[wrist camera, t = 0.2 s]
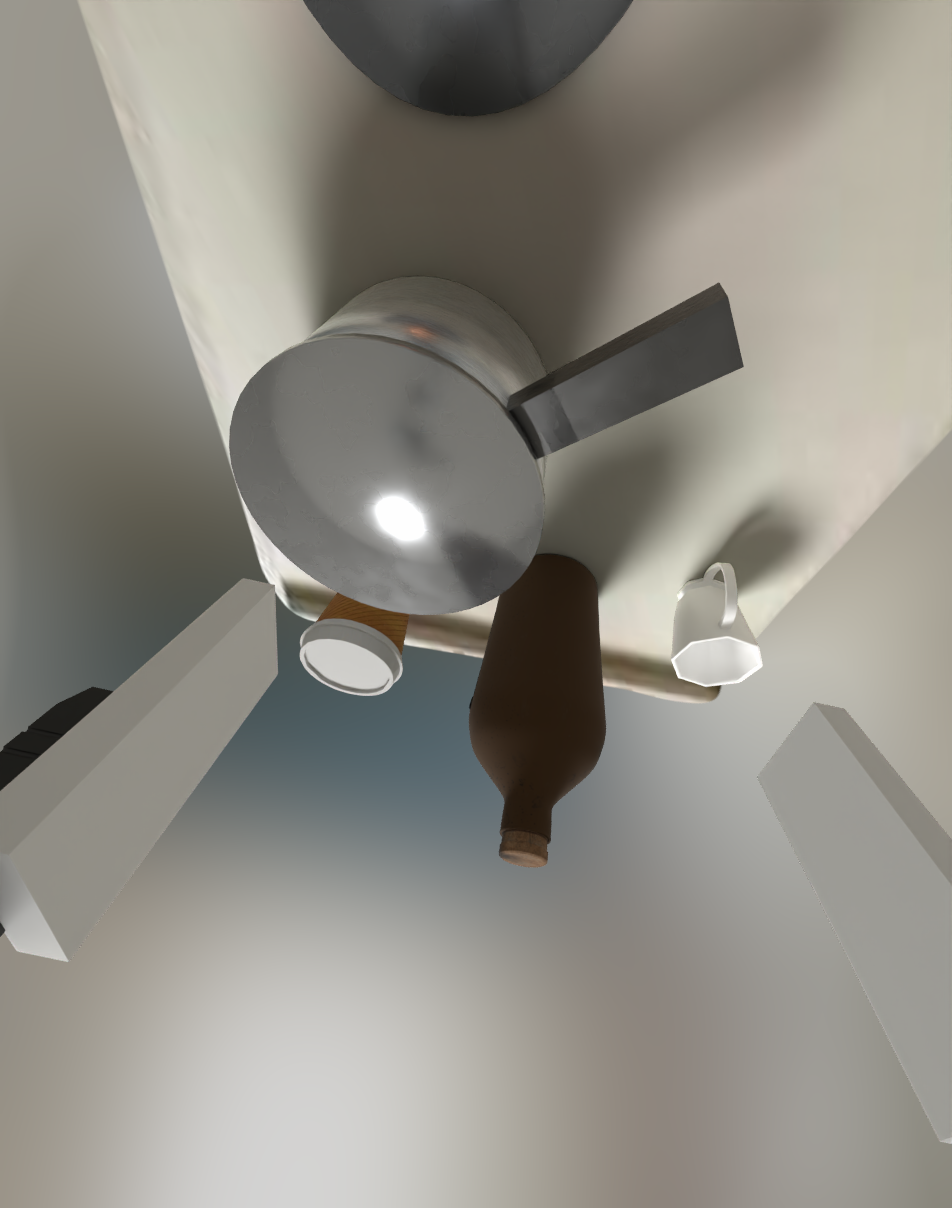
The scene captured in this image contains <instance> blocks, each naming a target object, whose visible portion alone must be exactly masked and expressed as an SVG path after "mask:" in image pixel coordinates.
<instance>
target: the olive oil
mask: <svg viewBox="0 0 952 1208" xmlns="http://www.w3.org/2000/svg"><path fill="white" fill-rule="evenodd" d="M469 708H470V714H469V730H470V738H471V744H472V747H473V750H474V753H475V755H476V757H477V759H478V760H479V762H480V764H481V765H482V767H483V768H484V769H485V771H486V772H487V774H488V775H489V776H490V778H491V779H492V781H493V782H494V783H495V785H496V786H497V788H498V789H499V791H500V792H501V794H502V795H503V798H504V801H505V804H504V810H503V815H502V822H501V829H500V835H501V836H502V843H501V844H500V849H499V856H500V857H501V858H502V859H503V860H505V861H507V862H509V863H511V864H515V865H518V866H524V867H541V866H544V865H546V864H547V860H548V852H547V844H549V843H550V841H551V813H552V808H553V806H554V805H555V804H556V803H557V802H558V801H559V800H560V799H561V798H562V797H563V796H564V795H566V794H567V793H568V792H569V791H570V790H571V789H573V788H574V787H575V786H576V785H577V784H579V783H580V782H581V781H582V780H583V779H584V778H586V776H587V775H589V774H590V772H591V771H592V770H593V769H594V767H595V765H596V764H597V761H598V759H599V757H600V754H601V751H602V748H603V745H604V741H605V735H606V720H605V706H604V693H603V680H602V665H601V650H600V634H599V611H598V589H597V584H596V581H595V578H594V576H593V575H592V573H591V572H590V571H589V570H588V569H587V568H586V567H585V566H583V565H582V564H580V563H579V562H577V561H575V560H573V559H570V558H568V557H564V556H560V555H552V554H543V555H535V556H534V557H533V559H532V561H531V563H530V565H529V566H528V568H527V569H526V570H525V572H524V573H523V574H522V576H521V577H520V578H519V579H518V580H517V581H516V582H515V583H514V584H513V585H512V586H511V587H510V588H509V589H507V590H506V591H505V592H503V593H502V594H500V595H499V600H498V604H497V608H496V612H495V616H494V620H493V624H492V628H491V632H490V635H489V639H488V643H487V647H486V651H485V655H484V658H483V663H482V666H481V670H480V673H479V677H478V681H477V684H476V689H475V692H474V696H473V697H472V699H471V703H470V707H469Z"/></svg>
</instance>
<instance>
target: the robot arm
mask: <svg viewBox="0 0 952 1208" xmlns="http://www.w3.org/2000/svg"><path fill="white" fill-rule="evenodd" d="M275 606H276V605H275V585H272V584H267V583H263V582H258V581H253V580H249V579H242V580H240V581H239V582H238V583H237V584H236V585H235V586H234V587H232V588H231V589H230V590H229V591H228V592H227V593H226V594H224V595H223V596H222V597H221V598H220V599H219V600H218V601H216V602H215V603H214V604H213V605H212V606H211V607H210V608H208V609H207V610H206V611H205V612H204V613H203V614H202V615H200V616H199V617H198V618H197V619H196V620H195V621H194V622H192V623H191V624H190V625H189V626H188V627H187V628H186V629H184V630H183V631H182V632H181V633H180V634H179V635H178V636H177V637H175V638H174V639H173V640H172V641H171V642H170V643H169V644H167V645H166V646H165V647H164V648H163V649H162V650H161V651H159V652H158V653H157V654H156V655H155V656H154V657H153V658H151V659H150V660H149V661H148V662H147V663H146V664H145V665H143V666H142V667H141V668H140V669H139V670H138V671H137V672H135V673H134V674H133V675H132V676H131V677H130V678H129V679H128V680H126V681H125V682H124V683H123V684H122V685H121V686H120V687H118V688H117V689H116V690H115V691H110V690H105V689H100V688H96V687H91V688H89V689H87V690H85V691H83V692H81V693H79V694H77V695H75V696H73V697H71V698H68V699H66V700H64V701H62V702H60V703H58V704H56V705H55V706H54V707H52V708H51V709H50V710H49V711H47V712H46V713H45V714H44V715H42V716H41V717H40V718H39V719H37V720H36V721H35V722H34V723H33V724H31V725H30V726H29V727H28V730H27V731H26V732H21V733H20V734H19V735H17V736H16V737H15V738H14V739H12V740H11V741H10V742H9V743H7V744H6V745H5V746H4V748H3V750H2V751H1V752H0V936H1V935H2V934H3V933H5V934H6V936H7V937H8V939H9V940H10V942H11V943H12V945H13V946H14V948H15V949H16V950H17V951H18V952H23V953H28V954H32V955H37V956H42V957H47V958H52V959H57V960H62V961H66V962H69V961H70V960H71V958H72V957H73V956H74V954H75V953H76V952H77V950H78V949H79V948H80V946H81V945H82V943H83V942H84V941H85V939H86V938H87V937H88V935H89V934H90V932H91V931H92V930H93V928H94V927H95V925H96V924H97V923H98V921H99V920H100V919H101V917H102V916H103V914H104V913H105V912H106V910H107V909H108V908H109V906H110V905H111V903H112V902H113V901H114V899H115V898H116V897H117V895H118V894H119V892H120V891H121V890H122V888H123V887H124V886H125V884H126V883H127V881H128V880H129V879H130V877H131V876H132V874H133V873H134V872H135V870H136V869H137V867H138V866H139V865H140V863H141V862H142V861H143V859H144V858H145V856H146V855H147V854H148V852H149V851H150V850H151V848H152V847H153V845H154V844H155V843H156V841H157V840H158V839H159V837H160V836H161V835H162V833H163V832H164V830H165V829H166V827H167V826H168V825H169V823H170V822H171V821H172V819H173V818H174V817H175V815H176V814H177V812H178V811H179V810H180V808H181V807H182V806H183V804H184V803H185V801H186V800H187V799H188V797H189V796H190V795H191V793H192V792H193V790H194V789H195V788H196V786H197V785H198V783H199V782H200V781H201V779H202V778H203V777H204V775H205V774H206V773H207V771H208V770H209V768H210V767H211V766H212V764H213V762H214V761H215V760H216V759H217V757H218V756H219V755H220V753H221V752H222V750H223V749H224V748H225V746H226V745H227V744H228V742H229V741H230V739H231V738H232V737H233V735H234V734H235V732H236V731H237V730H238V728H239V727H240V725H241V724H242V723H243V722H244V720H245V719H246V717H247V716H248V715H249V713H250V712H251V710H252V709H253V708H254V706H255V705H256V704H257V702H258V701H259V699H260V698H261V697H262V695H263V694H264V693H265V691H266V690H267V688H268V687H269V686H270V684H271V683H272V682H273V680H274V679H275V677H276V676H277V675H278V666H277V665H278V664H277V634H276V607H275ZM757 778H758V780H759V782H760V784H761V786H762V788H763V790H764V792H765V794H766V796H767V798H768V800H769V802H770V804H771V806H772V808H773V810H774V812H775V814H776V816H777V818H778V820H779V822H780V824H781V826H782V828H783V830H784V832H785V834H786V836H787V838H788V840H789V842H790V844H791V846H792V848H793V850H794V852H795V854H796V856H797V858H798V860H799V862H800V864H801V866H802V868H803V870H804V872H805V874H806V876H807V878H808V880H809V882H810V884H811V886H812V888H813V890H814V892H815V894H816V896H817V898H818V900H819V902H820V904H821V906H822V908H823V910H824V912H825V914H826V916H827V918H828V920H829V922H830V924H831V926H832V928H833V930H834V932H835V934H836V936H837V938H838V939H839V942H840V944H841V946H842V948H843V950H844V952H845V954H846V956H847V958H848V959H849V962H850V964H851V966H852V968H853V970H854V972H855V974H856V976H857V978H858V980H859V982H860V984H861V986H862V988H863V990H864V992H865V994H866V996H867V998H868V1000H869V1002H870V1004H871V1005H872V1008H873V1009H874V1012H875V1014H876V1015H877V1018H878V1020H879V1022H880V1023H881V1026H882V1028H883V1030H884V1032H885V1034H886V1036H887V1038H888V1039H889V1041H890V1044H891V1046H892V1048H893V1050H894V1052H895V1054H896V1056H897V1057H898V1059H899V1062H900V1064H901V1066H902V1067H903V1069H904V1071H905V1073H906V1075H907V1077H908V1079H909V1081H910V1083H911V1085H912V1087H913V1089H914V1091H915V1093H916V1095H917V1097H918V1099H919V1101H920V1103H921V1105H922V1107H923V1109H924V1111H925V1113H926V1115H927V1117H928V1119H929V1121H930V1123H931V1125H932V1127H933V1129H934V1131H935V1133H936V1135H937V1137H938V1139H939V1141H940V1142H945V1143H950V1144H952V839H951V838H950V837H949V836H948V834H947V833H946V832H945V831H944V829H943V828H942V827H941V826H940V825H939V824H938V822H937V821H936V820H935V818H934V817H933V816H932V815H931V814H930V812H929V811H928V810H927V809H926V808H925V806H924V805H923V804H922V803H921V801H920V800H919V799H918V798H917V797H916V796H915V794H914V793H913V792H912V790H911V789H910V788H909V787H908V786H907V784H906V783H905V782H904V781H903V780H902V778H901V777H900V776H899V775H898V773H897V772H896V771H895V770H894V768H893V767H892V766H891V765H890V764H889V762H888V761H887V760H886V759H885V758H884V756H883V755H882V754H881V753H880V752H879V750H878V749H877V748H876V747H875V745H874V744H873V743H872V742H871V740H870V739H869V738H868V737H867V736H866V734H865V733H864V732H863V731H862V729H861V728H860V727H859V726H858V725H857V723H856V722H855V721H854V720H853V718H852V717H851V716H850V715H849V714H848V713H847V711H846V710H845V709H843V708H838V707H834V706H829V705H824V704H820V703H815V702H814V703H813V704H812V705H811V706H810V708H809V709H808V710H807V712H806V713H805V714H804V716H803V717H802V718H801V720H800V721H799V722H798V724H797V725H796V726H795V728H794V729H793V730H792V731H791V733H790V734H789V735H788V737H787V738H786V740H785V741H784V742H783V743H782V745H781V746H780V747H779V749H778V750H777V751H776V752H775V754H774V755H773V756H772V758H771V759H770V760H769V762H768V763H767V764H766V766H765V767H764V768H763V770H762V771H761V772H760V774H759V775H758V776H757Z"/></svg>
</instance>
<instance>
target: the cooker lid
mask: <svg viewBox="0 0 952 1208" xmlns="http://www.w3.org/2000/svg"><path fill="white" fill-rule="evenodd" d="M303 1H304V2H305V4H306V6H307V7H308V9H309V10H310V12H311V13H312V14H313V16H314V17H315V18H316V20H317V21H318V23H319V24H320V25H321V27H322V28H323V29H324V31H325V32H326V34H327V35H328V36H329V38H330V39H331V40H332V41H333V42H334V43H335V45H336V46H337V47H338V48H339V49H340V50H341V51H342V52H343V53H344V54H345V56H346V57H347V58H348V59H349V60H350V61H351V62H352V63H353V64H354V65H355V66H356V67H357V68H358V69H360V70H361V71H362V72H363V73H364V74H365V75H367V76H368V77H369V78H370V79H371V80H372V81H373V82H375V83H376V84H377V85H379V86H380V87H382V88H383V89H385V90H387V91H388V92H390V93H391V94H393V95H394V96H396V97H397V98H399V99H401V100H403V101H406V102H408V103H410V104H412V105H415V106H417V107H419V108H422V109H424V110H428V111H433V112H437V113H441V114H445V115H455V116H478V115H485V114H492V113H498V112H501V111H504V110H507V109H510V108H513V107H516V106H519V105H522V104H524V103H526V102H528V101H530V100H532V99H533V98H535V97H537V96H539V95H541V94H543V93H545V92H546V91H548V90H550V89H551V88H552V87H554V86H555V85H556V84H558V83H559V82H560V81H562V80H563V79H564V78H566V77H567V76H568V75H570V74H571V73H572V72H573V71H574V70H575V69H576V68H577V67H578V66H579V65H580V64H581V63H582V62H584V61H585V60H586V59H587V58H588V57H589V56H590V55H591V54H592V53H593V52H594V51H595V50H596V49H597V48H598V46H599V45H600V44H601V43H602V42H603V40H604V39H605V38H606V37H607V35H608V34H609V33H610V32H611V30H612V29H613V28H614V27H615V26H616V24H617V23H618V22H619V21H620V19H621V18H622V17H623V15H624V14H625V12H626V11H627V9H628V8H629V6H630V5H631V3H632V1H633V0H303Z"/></svg>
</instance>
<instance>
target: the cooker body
mask: <svg viewBox="0 0 952 1208" xmlns="http://www.w3.org/2000/svg"><path fill="white" fill-rule="evenodd" d="M742 367H743V362H742V358H741V353H740V349H739V344H738V340H737V336H736V331H735V327H734V322H733V318H732V313H731V309H730V304H729V300H728V296H727V295H726V293H725V291H724V290H723V288H722V286H721V285H720V283H717V284H715V285H714V286H712V287H710V288H708V289H706V290H704V291H702V292H701V293H699V294H697V295H695V296H693V297H691V298H690V299H688V300H686V301H684V302H682V303H680V304H678V305H677V306H675V307H673V308H671V309H669V310H667V311H665V312H664V313H662V314H660V315H658V316H656V317H654V318H652V319H651V320H649V321H647V322H645V323H643V324H641V325H639V326H638V327H636V328H634V329H632V330H630V331H628V332H626V333H625V334H623V335H621V336H619V337H617V338H615V339H614V340H612V341H610V342H608V343H606V344H604V345H602V346H601V347H599V348H597V349H595V350H593V351H591V352H589V353H588V354H586V355H584V356H582V357H580V358H578V359H576V360H575V361H573V362H571V363H569V364H567V365H565V366H563V367H562V368H560V369H558V370H556V371H554V372H552V373H550V374H549V375H546V372H545V369H544V367H543V364H542V362H541V359H540V357H539V355H538V353H537V351H536V349H535V348H534V346H533V344H532V342H531V341H530V339H529V338H528V336H527V335H526V334H525V332H524V331H523V330H522V328H521V327H520V326H519V324H518V323H517V322H516V321H515V320H514V319H513V318H512V317H511V316H510V315H509V314H508V313H507V312H506V311H505V310H503V309H502V308H501V307H500V306H498V305H497V304H496V303H494V302H493V301H492V300H491V299H489V298H487V297H486V296H484V295H482V294H481V293H479V292H477V291H475V290H474V289H472V288H469V287H467V286H464V285H462V284H459V283H457V282H454V281H449V280H445V279H441V278H437V277H425V276H410V277H399V278H395V279H391V280H387V281H383V282H381V283H379V284H376V285H374V286H372V287H370V288H367V289H366V290H364V291H363V292H362V293H360V294H359V295H357V296H356V297H354V298H353V299H352V300H351V301H349V302H348V303H347V304H346V305H345V306H344V307H342V308H341V309H340V310H339V311H338V312H337V313H336V314H334V315H333V316H332V317H331V318H330V319H329V320H327V321H326V322H325V323H324V324H323V325H322V326H321V327H319V328H318V329H317V330H316V331H315V332H314V333H312V334H311V335H310V336H309V337H308V338H307V339H306V340H304V341H303V342H301V343H299V344H297V345H294V346H292V347H290V348H288V349H286V350H285V351H283V352H282V353H280V354H279V355H277V356H276V357H274V358H273V359H271V360H270V361H269V362H268V363H267V364H265V365H264V366H263V367H262V368H261V369H260V370H259V371H258V372H257V373H256V374H255V375H254V376H253V377H252V378H251V379H250V381H249V382H248V384H247V385H246V387H245V388H244V390H243V391H242V393H241V394H240V397H239V399H238V401H237V404H236V406H235V409H234V411H233V416H232V421H231V426H230V440H229V449H230V457H231V465H232V469H233V472H234V476H235V480H236V483H237V486H238V488H239V491H240V493H241V495H242V498H243V500H244V502H245V504H246V506H247V507H248V509H249V511H250V513H251V515H252V516H253V518H254V519H255V521H256V522H257V524H258V525H259V527H260V528H261V530H262V531H263V532H264V533H265V534H266V536H267V537H268V538H269V539H270V540H271V542H272V543H273V544H274V545H275V546H276V547H277V548H278V549H279V550H280V551H281V552H282V553H283V554H284V555H285V556H286V557H287V558H288V559H289V560H290V561H292V562H293V563H294V564H295V565H296V566H297V567H299V568H300V569H301V570H303V571H304V572H305V573H307V574H308V575H310V576H311V577H312V578H314V579H315V580H317V581H318V582H320V583H322V584H323V585H325V586H327V587H328V588H330V589H332V590H334V591H336V592H338V593H340V594H342V595H344V596H346V597H349V598H351V599H353V600H356V601H358V602H361V603H364V604H367V605H370V606H373V607H376V608H380V609H385V610H389V611H393V612H400V613H406V614H420V615H434V614H446V613H454V612H459V611H463V610H467V609H471V608H473V607H476V606H479V605H482V604H484V603H486V602H488V601H490V600H492V599H494V598H496V597H497V596H499V595H500V594H502V593H503V592H505V591H506V590H507V589H509V588H510V587H511V586H512V585H513V584H514V583H515V582H516V581H517V580H518V579H519V578H520V577H521V576H522V574H523V573H524V572H525V570H526V569H527V568H528V566H529V565H530V563H531V561H532V559H533V557H534V555H535V554H536V551H537V548H538V545H539V542H540V539H541V534H542V528H543V522H544V514H545V494H544V488H543V483H544V476H545V468H546V461H547V455H548V454H550V453H553V452H555V451H557V450H559V449H562V448H564V447H566V446H568V445H570V444H573V443H575V442H577V441H579V440H582V439H584V438H586V437H588V436H591V435H593V434H595V433H597V432H599V431H602V430H604V429H606V428H608V427H611V426H613V425H615V424H617V423H620V422H622V421H624V420H626V419H628V418H631V417H633V416H635V415H637V414H640V413H642V412H644V411H646V410H649V409H651V408H653V407H655V406H657V405H660V404H662V403H664V402H666V401H669V400H671V399H673V398H675V397H678V396H680V395H682V394H684V393H686V392H689V391H691V390H693V389H695V388H698V387H700V386H702V385H704V384H706V383H709V382H711V381H713V380H715V379H718V378H720V377H722V376H724V375H727V374H729V373H731V372H733V371H735V370H738V369H740V368H742Z"/></svg>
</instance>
